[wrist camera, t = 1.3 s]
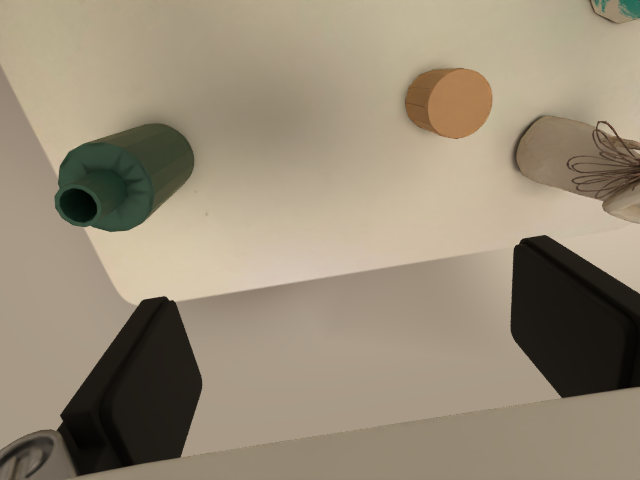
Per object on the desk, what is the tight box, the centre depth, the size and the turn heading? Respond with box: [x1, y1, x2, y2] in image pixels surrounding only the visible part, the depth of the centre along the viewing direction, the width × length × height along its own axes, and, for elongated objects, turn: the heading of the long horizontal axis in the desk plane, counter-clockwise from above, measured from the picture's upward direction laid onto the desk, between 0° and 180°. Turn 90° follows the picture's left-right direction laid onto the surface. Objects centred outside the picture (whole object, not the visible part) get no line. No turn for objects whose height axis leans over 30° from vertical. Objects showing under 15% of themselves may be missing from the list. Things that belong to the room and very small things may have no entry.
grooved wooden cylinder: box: [405, 68, 492, 139], centre depth 35 cm, size 5×5×7 cm
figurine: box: [517, 116, 640, 224], centre depth 31 cm, size 10×10×20 cm
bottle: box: [55, 124, 194, 232], centre depth 32 cm, size 7×7×16 cm
